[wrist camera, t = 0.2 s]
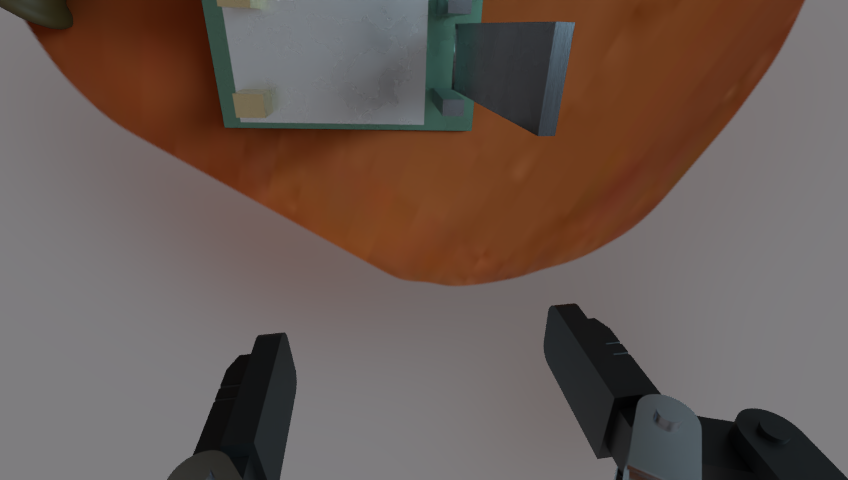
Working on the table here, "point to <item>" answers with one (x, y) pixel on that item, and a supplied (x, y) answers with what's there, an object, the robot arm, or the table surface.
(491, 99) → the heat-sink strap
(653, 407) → the robot arm
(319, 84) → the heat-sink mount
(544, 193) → the table surface
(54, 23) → the kendama
